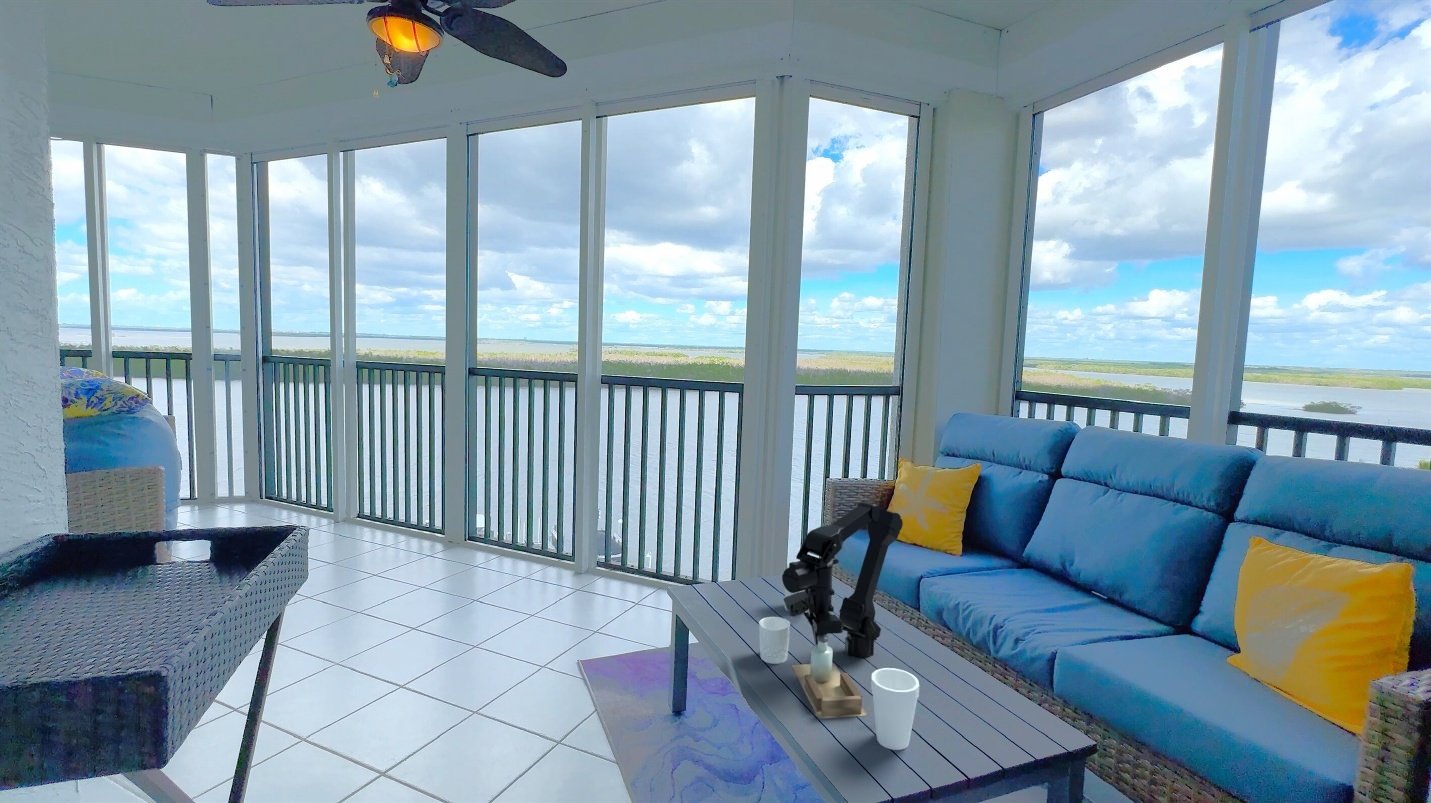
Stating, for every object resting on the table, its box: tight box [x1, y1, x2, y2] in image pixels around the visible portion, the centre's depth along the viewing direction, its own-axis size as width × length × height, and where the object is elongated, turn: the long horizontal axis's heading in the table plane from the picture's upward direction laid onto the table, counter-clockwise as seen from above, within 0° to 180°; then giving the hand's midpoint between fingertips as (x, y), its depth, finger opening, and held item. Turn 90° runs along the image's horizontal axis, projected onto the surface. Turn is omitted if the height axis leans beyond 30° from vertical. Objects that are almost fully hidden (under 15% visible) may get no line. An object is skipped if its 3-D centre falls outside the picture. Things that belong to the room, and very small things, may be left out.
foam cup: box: [870, 667, 920, 751], centre depth 129 cm, size 10×9×13 cm
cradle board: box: [791, 662, 868, 720], centre depth 147 cm, size 11×23×4 cm, turn 8°
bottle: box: [810, 634, 833, 683], centre depth 151 cm, size 5×5×10 cm
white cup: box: [758, 616, 791, 665], centre depth 161 cm, size 8×8×10 cm
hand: (817, 645), depth 154 cm, fingers closed
